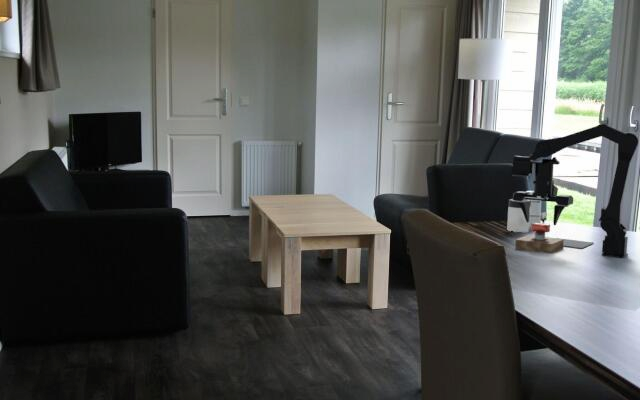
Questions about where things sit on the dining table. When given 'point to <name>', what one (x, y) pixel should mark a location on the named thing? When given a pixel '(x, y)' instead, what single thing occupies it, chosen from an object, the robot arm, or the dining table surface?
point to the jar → (517, 218)
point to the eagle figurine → (543, 216)
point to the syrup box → (535, 210)
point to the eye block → (539, 244)
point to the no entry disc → (540, 230)
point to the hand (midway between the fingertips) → (541, 223)
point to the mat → (576, 243)
